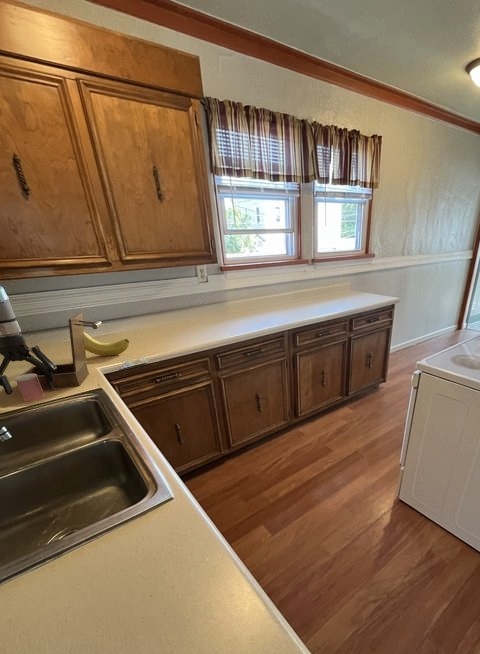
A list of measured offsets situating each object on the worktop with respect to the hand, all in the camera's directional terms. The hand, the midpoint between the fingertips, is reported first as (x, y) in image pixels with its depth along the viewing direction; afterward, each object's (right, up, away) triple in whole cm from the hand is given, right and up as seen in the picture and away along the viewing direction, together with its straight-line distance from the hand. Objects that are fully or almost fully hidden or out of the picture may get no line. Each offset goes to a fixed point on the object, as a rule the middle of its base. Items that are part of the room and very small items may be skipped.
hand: (31, 391), depth 119 cm
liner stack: (0, -3, +1) cm, 3 cm away
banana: (+1, +19, +46) cm, 49 cm away
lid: (+11, +20, +9) cm, 24 cm away
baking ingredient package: (+18, +14, +34) cm, 41 cm away
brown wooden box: (0, +3, +14) cm, 14 cm away
